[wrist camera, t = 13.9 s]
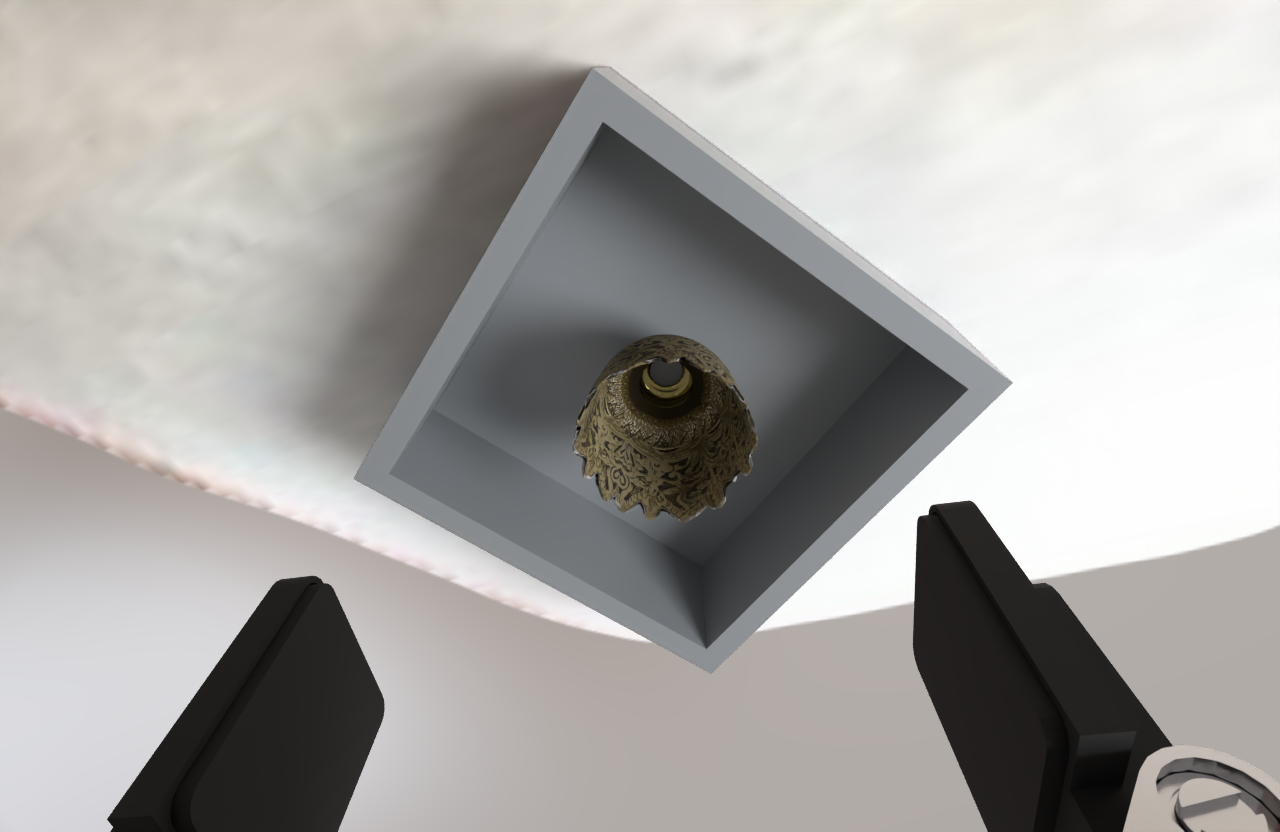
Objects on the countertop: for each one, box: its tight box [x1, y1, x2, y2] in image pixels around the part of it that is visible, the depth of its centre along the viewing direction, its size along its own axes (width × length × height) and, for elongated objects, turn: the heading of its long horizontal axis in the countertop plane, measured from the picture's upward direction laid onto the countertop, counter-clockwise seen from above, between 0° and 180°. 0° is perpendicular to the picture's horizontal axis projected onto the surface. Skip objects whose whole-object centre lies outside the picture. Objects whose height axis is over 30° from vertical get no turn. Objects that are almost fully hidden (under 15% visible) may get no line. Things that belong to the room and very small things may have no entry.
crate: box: [354, 67, 1013, 673], centre depth 33 cm, size 20×20×8 cm
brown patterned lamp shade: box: [572, 334, 758, 522], centre depth 32 cm, size 7×7×8 cm
